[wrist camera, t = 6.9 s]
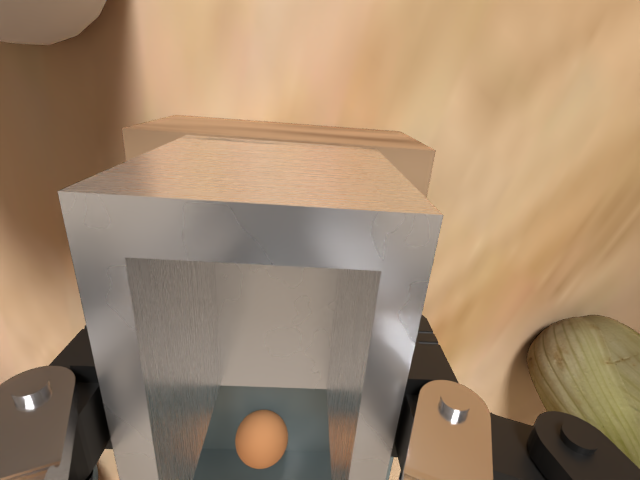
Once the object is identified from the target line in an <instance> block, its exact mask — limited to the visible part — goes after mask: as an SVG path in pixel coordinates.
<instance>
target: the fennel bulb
mask: <svg viewBox="0 0 640 480" xmlns="http://www.w3.org/2000/svg"><path fill="white" fill-rule="evenodd" d="M527 364H528V369H529V373H530V376H531V378H532V381H533V383H534V386H535V388H536V390H537V392H538V394H539V396H540V399H541V401H542V403H543V405H544V406H545V408H546V410H547V412H548V411H559V412H564V413H568V414H571V415H574V416H576V417H578V418H581V419H582V420H584V421H586V422H588V423H590V424H591V425H593V426H594V427H596V428H597V429H598V430H600V431H601V432H602V433H603V434H604V435H605V436H606V437H608V438H609V439H610V440H611V441H612V442H613V443H614V444H615V445H616V446H617V447H618V448H619V449H620V450H621V451H622V452H623V453H624V454H625V455H626V456H627V457H628V458H629V459H630V460H631V461H632V462H633V463H634V464H635V465H636V466H637V467H638V468H639V469H640V334H638V333H637V332H636V331H634V330H633V329H631V328H630V327H628V326H626V325H624V324H622V323H620V322H618V321H616V320H614V319H611V318H609V317H605V316H600V315H587V316H583V317H572V318H568V319H563V320H561V321H558V322H556V323H553V324H551V325H550V326H549V327H547V328H546V329H544V330H543V331H542V332H541V333H540V334H539V335H538V337H537V338H535V340H534V341H533V343H532V344H531V346H530V348H529V350H528V356H527Z"/></svg>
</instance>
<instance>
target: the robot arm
mask: <svg viewBox="0 0 640 480" xmlns="http://www.w3.org/2000/svg"><path fill="white" fill-rule="evenodd" d="M104 449H113V447H112V442H111V437H110V433H109V428H108V423H107V419H106V414H105V409H104V405H103V400H102V396H101V391H100V386H99V382H98V377H97V372H96V368H95V363H94V358H93V354H92V349H91V344H90V340H89V335H88V330H87V326H85V329H82V330H81V331H80V332H79V333H78V334H77V335H76V336H75V338H74V339H73V340H72V341H71V342H70V343H69V344H68V345H67V346H66V347H65V348H64V350H63V351H62V352H61V353H60V354H59V355H58V356H57V357H56V358H55V359H54V360H53V362H52V363H51V364H50V365H49V366H44V367H38V368H34V369H31V370H28V371H25V372H22V373H20V374H18V375H16V376H14V377H12V378H10V379H8V380H7V381H5V382H4V383H2V384H1V385H0V480H98V468H97V464H96V463H97V462H98V460H99V458H100V456H101V454H102V453H103V451H104ZM391 457H398V460H399V464H400V468H401V472H400V476H399V480H640V469H639V468H638V467H637V466H636V465H635V464H634V463H633V462H632V461H631V460H630V459H629V458H628V457H627V456H626V455H625V454H624V453H623V452H622V451H621V450H620V449H619V448H618V447H617V446H616V445H615V444H614V443H613V442H612V441H611V440H610V439H609V438H608V437H606V436H605V435H604V434H603V433H602V432H601V431H600V430H598V429H597V428H596V427H594V426H593V425H591V424H590V423H588V422H586V421H584V420H582V419H581V418H578V417H576V416H574V415H571V414H568V413H564V412H559V411H548V412H544V413H542V414H540V415H539V416H538V417H537V419H536V421H535V424H534V426H531V425H527V424H524V423H520V422H517V421H514V420H510V419H507V418H503V417H500V416H497V415H495V414H492V413H490V412H489V409H488V407H487V405H486V404H485V402H484V401H483V400H482V399H481V398H480V397H479V396H478V395H477V394H476V393H475V392H474V391H472V390H471V389H469V388H467V387H466V386H464V385H462V384H459V383H458V381H457V379H456V377H455V375H454V373H453V371H452V369H451V367H450V365H449V363H448V361H447V359H446V357H445V355H444V353H443V351H442V349H441V347H440V345H438V341H437V339H436V337H435V335H434V334H433V331H432V329H431V327H430V325H429V323H428V321H427V319H426V318H425V317H424V316H423V315H421V320H420V324H419V329H418V333H417V338H416V342H415V347H414V352H413V356H412V361H411V365H410V370H409V374H408V379H407V384H406V388H405V393H404V397H403V402H402V406H401V411H400V416H399V420H398V425H397V429H396V434H395V439H394V443H393V448H392V452H391Z"/></svg>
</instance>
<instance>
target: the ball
mask: <svg viewBox="0 0 640 480" xmlns="http://www.w3.org/2000/svg"><path fill="white" fill-rule="evenodd" d="M287 443H288V431H287V427H286V425H285V423H284V421H283V420H282V418H281V417H280V416H279V415H278V414H276V413H275V412H273V411H270V410H257V411H254V412H252V413H250V414H249V415H247V416H246V417H245V418H244V419H243V421H242V422H241V423H240V425H239V427H238V429H237V432H236V437H235V446H236V451H237V453H238V456H239V457H240V459H241V460H242V461H243V462H244V463H245V464H246V465H247V466H249V467H251V468H255V469H265V468H268V467H270V466H272V465H274V464H275V463H277V462H278V461H279V460H280V458H281V457H282V456H283V454H284V452H285V450H286V447H287Z"/></svg>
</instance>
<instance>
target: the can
mask: <svg viewBox="0 0 640 480" xmlns="http://www.w3.org/2000/svg"><path fill="white" fill-rule="evenodd" d="M106 1H107V0H0V41H1V42H9V43H16V44H36V45H51V44H54V43H57V42H60V41H63V40H66V39H69V38H72V37H75V36H78V35H79V34H80V33H81V32H82V31H83V30H84V29H85V28H86V27H87V26H88V25H90V24H91V23H92V22H93V21H94V20H95V19H96V18H97V17H98V16H99V15H100V13H101V11H102V9H103V7H104V5H105V3H106Z"/></svg>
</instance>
